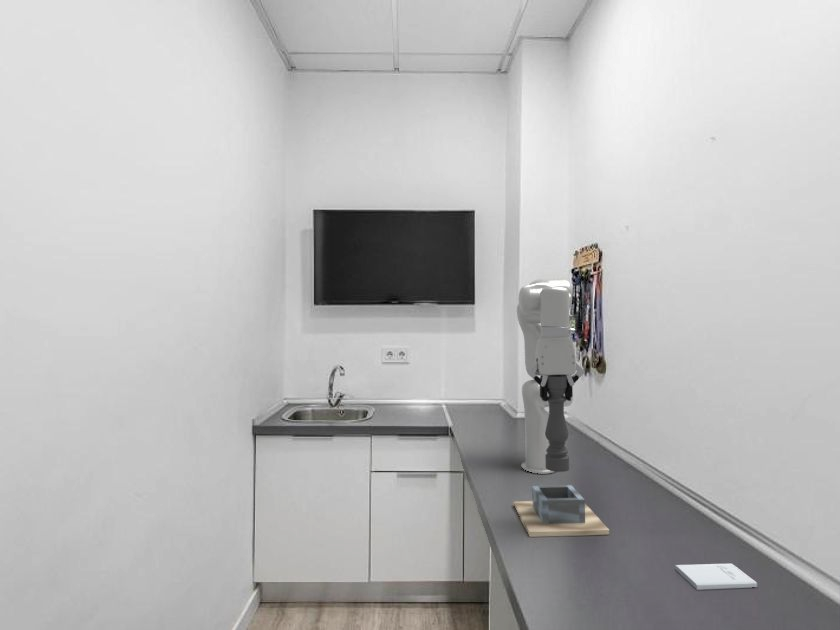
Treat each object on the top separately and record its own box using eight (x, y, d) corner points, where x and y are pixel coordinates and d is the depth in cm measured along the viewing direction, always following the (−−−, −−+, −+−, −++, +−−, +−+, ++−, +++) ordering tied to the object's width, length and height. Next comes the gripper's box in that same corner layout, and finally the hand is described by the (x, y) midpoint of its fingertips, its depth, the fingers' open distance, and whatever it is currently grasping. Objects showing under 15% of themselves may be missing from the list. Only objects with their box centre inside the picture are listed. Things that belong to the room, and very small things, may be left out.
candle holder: (553, 472, 132) (551, 377, 131) (541, 465, 138) (539, 374, 137) (573, 470, 133) (572, 376, 133) (561, 463, 139) (559, 373, 139)
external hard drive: (674, 571, 109) (730, 569, 109) (697, 592, 101) (757, 590, 101) (674, 564, 109) (730, 561, 109) (696, 584, 101) (757, 582, 101)
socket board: (513, 505, 145) (513, 480, 145) (582, 504, 146) (581, 479, 146) (529, 536, 125) (529, 508, 125) (609, 534, 126) (608, 506, 126)
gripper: (582, 332, 139) (583, 397, 139) (520, 333, 139) (521, 398, 139) (591, 333, 132) (592, 402, 132) (526, 334, 131) (527, 403, 131)
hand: (556, 399), depth 135 cm, fingers closed on candle holder, 5 cm apart
